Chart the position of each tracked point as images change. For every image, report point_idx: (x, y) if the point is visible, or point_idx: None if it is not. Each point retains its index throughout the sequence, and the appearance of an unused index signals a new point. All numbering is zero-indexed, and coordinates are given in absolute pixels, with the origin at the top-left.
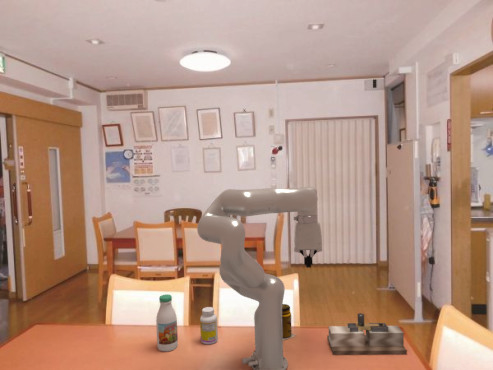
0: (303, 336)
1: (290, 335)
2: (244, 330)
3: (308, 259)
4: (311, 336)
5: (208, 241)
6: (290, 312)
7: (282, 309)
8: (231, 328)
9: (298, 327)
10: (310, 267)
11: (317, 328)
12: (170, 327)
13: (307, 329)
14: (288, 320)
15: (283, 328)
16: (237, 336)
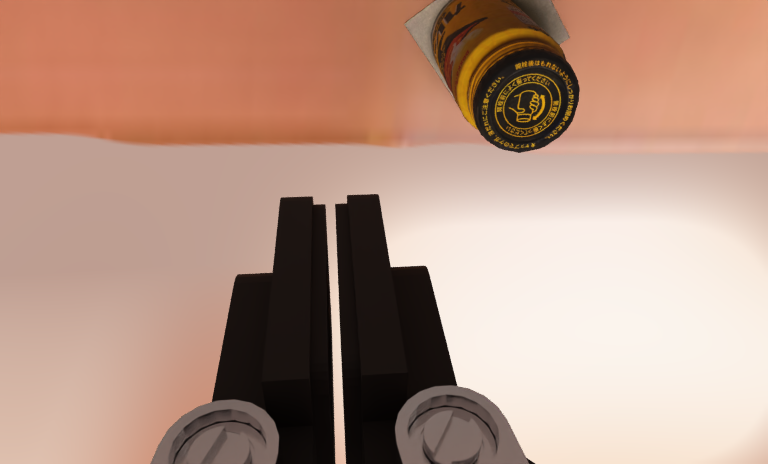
0: (359, 15)
1: (440, 17)
2: (686, 95)
3: (341, 332)
4: (308, 15)
5: None
6: (461, 93)
7: (547, 53)
8: (748, 119)
9: (377, 133)
10: (292, 199)
11: (265, 121)
12: None
13: (326, 108)
14: (477, 29)
15: (501, 5)
16: (748, 20)
